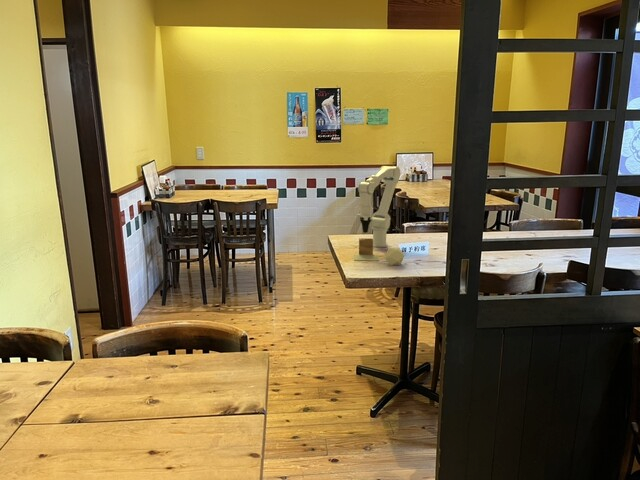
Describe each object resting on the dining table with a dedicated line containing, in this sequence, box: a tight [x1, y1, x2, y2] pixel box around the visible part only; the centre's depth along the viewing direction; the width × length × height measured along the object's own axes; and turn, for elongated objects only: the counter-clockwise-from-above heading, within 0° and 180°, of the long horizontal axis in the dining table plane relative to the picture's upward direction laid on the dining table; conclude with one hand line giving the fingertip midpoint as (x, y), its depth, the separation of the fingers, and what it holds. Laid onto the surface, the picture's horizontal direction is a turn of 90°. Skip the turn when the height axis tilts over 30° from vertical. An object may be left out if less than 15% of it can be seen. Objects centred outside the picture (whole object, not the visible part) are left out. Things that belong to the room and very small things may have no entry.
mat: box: [353, 254, 380, 262], centre depth 231 cm, size 9×12×1 cm
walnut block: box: [358, 238, 374, 255], centre depth 237 cm, size 4×7×8 cm, turn 86°
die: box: [384, 247, 405, 266], centre depth 220 cm, size 8×9×10 cm
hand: (365, 231), depth 242 cm, fingers open, 4 cm apart
